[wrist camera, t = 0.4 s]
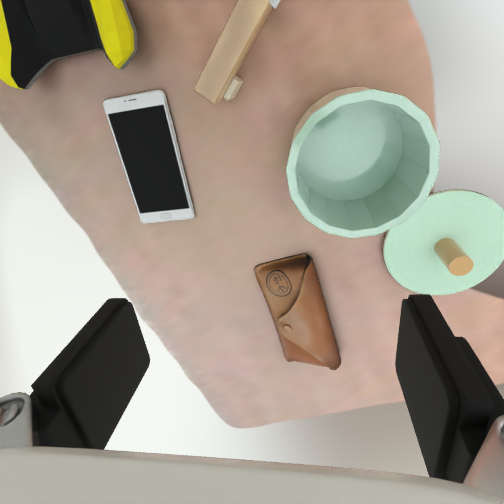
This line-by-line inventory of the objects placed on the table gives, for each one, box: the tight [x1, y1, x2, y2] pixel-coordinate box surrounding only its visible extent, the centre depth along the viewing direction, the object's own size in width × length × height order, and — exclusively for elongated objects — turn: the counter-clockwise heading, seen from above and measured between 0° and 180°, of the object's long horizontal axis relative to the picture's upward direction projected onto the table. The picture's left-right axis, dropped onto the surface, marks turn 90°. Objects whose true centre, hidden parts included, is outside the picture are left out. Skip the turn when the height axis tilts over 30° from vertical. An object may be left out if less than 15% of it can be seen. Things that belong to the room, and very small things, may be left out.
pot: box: [286, 86, 440, 238], centre depth 33 cm, size 13×13×9 cm
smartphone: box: [103, 90, 195, 223], centre depth 40 cm, size 8×1×15 cm
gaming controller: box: [0, 0, 138, 89], centre depth 32 cm, size 15×6×10 cm
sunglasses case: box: [254, 254, 341, 370], centre depth 46 cm, size 18×7×7 cm
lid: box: [383, 189, 504, 295], centre depth 38 cm, size 14×14×6 cm
